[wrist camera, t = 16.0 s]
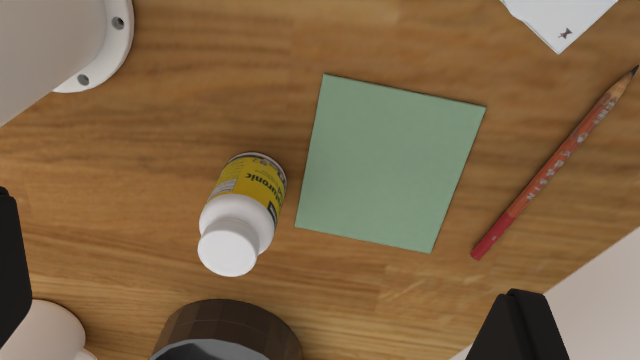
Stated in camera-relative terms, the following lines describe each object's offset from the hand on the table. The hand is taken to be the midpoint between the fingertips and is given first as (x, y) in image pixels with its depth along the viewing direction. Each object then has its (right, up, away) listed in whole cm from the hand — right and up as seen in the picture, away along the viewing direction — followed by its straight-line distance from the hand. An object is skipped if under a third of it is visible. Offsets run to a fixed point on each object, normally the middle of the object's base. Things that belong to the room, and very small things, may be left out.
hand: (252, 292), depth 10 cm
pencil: (+19, +3, +30) cm, 35 cm away
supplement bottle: (-4, +2, +33) cm, 33 cm away
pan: (-8, -16, +44) cm, 48 cm away
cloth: (+6, +3, +31) cm, 32 cm away
